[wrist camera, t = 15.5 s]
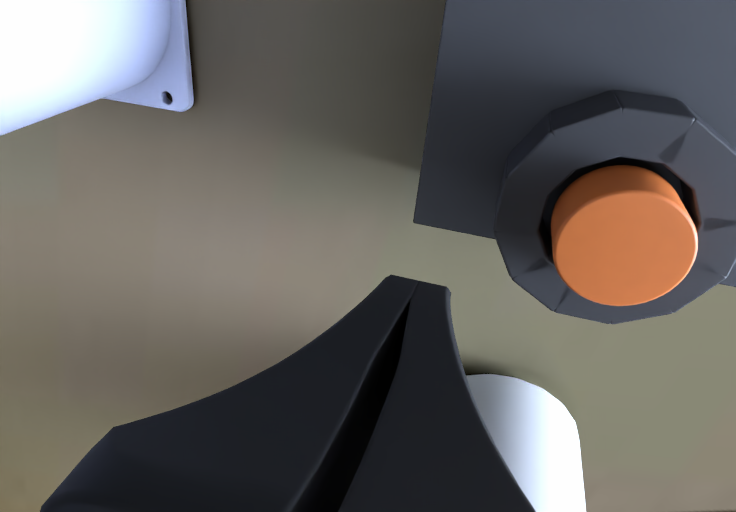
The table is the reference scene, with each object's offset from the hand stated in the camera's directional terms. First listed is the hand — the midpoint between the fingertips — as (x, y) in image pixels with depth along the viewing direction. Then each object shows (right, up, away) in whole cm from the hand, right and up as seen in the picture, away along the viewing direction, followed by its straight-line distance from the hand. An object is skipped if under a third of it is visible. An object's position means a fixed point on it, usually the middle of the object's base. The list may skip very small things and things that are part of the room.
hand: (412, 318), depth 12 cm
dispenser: (+7, +7, +6) cm, 12 cm away
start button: (+6, +2, +3) cm, 7 cm away
